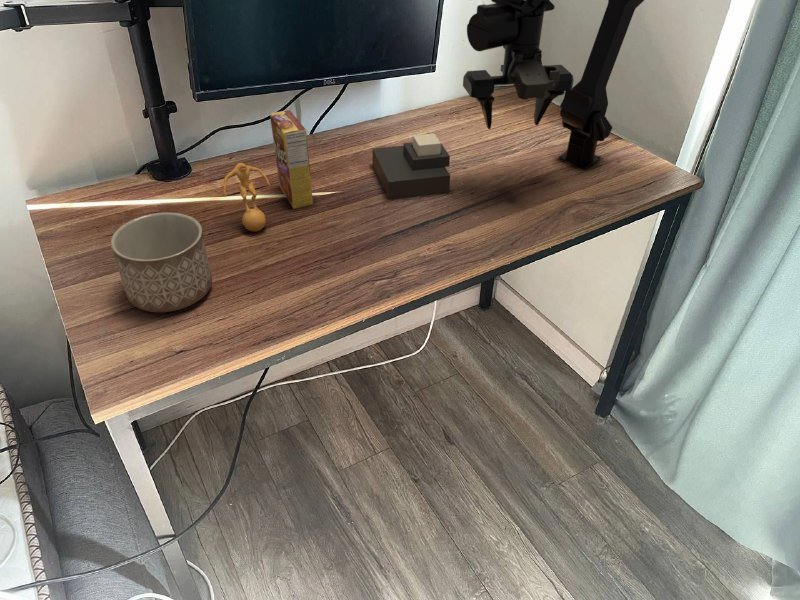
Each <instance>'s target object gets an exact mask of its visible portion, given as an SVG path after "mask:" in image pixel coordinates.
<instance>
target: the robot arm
mask: <svg viewBox="0 0 800 600" xmlns="http://www.w3.org/2000/svg"><path fill="white" fill-rule="evenodd" d="M490 1H491V2H492V3H490V4H479V5H477V6H476V13H474V14H472V15H471V17H470V19H469V20H468V23H467V24H466V37H467V40H468V43H469V45H470V46H471V48H472V49H473V50H474V51H476V52H483V51H488V50H493V49H497V48H500V47H502V48H503V49H504V55H503V64H501V65H500V72H501V73H502V75H493V76H492V75H491V74H490V73H489V72H488V71H487V69H479V70H467V71H466V73H465V74H464V75H463V77H462V87H463V88H464V89H465V91H466V93H467V94H468V95H469V97H470V98H473V99H475V100H476V101H478V102H479V105H480V107H481V112H482V115H483V118H484V122H485V126H486V128H487V129H488V130H491V128H492V123H493V103H494V101H495V97H494V96H493V94H494V92H495V89H497V88H509V87H510V88H511V87H514V89H515V90H516V94H517V97H518V98H519V99H521V100H528V99H535V104H534V113H533V123H534V125H535V126H539V125H540V123H541V120H542V119H543V117H544V115H545V113H546V111H547V109H549V108H548V107H550V104H551V103H552V102H553V100H555V99H556V98H558V97H559V96H563V99H562V101H561V103H560V104H559V108H560V110H559V116H560V117H561V122H562V123H561V124H562V128H565V129H567V130H569V131H570V134H569V138H568V144H567V149H566V152H564V153H562V154H561V155H559V157H558V160H560V161H562V162H564V163H568V164H570V165H573V166H575V167H578V168H581V169H583V170H586V169H588V168H590V167H591V166H594V164H596V163H597V162H599V161H601V159H602V157H601V156H599V155H597V154H596V151H597V147H598V144H599V143H598V142H604V141H605V139H608V138H609V137H610V134H611V132H612V130H613V125H612V124H611V123H610V121H609V120H608V118H607V117H606V113H607V111H608V106H609V101H608V99H609V98H608V92H607V85H608V82H609V80H610V77H611V75H612V72H613V69H614V67H615V64H616V61H617V58H618V56H619V54H620V52H621V51H620V50H621V48H622V46H623V43H624V41H625V37H626V35H627V32H628V29H629V27H630V24H631V22H632V18H633V16H634V13H635V11H636V9H637V8H638V7H639V6H640V5H641V4H642V3H643V2H644V1H645V0H608V1H607V5H606V8H605V11H604V14H603V17H602V18H601V21H600V22H601V23H600V25H599V27H598V31H597V34H596V35H595V39H594V41H593V45H592V48H591V51H590V53H589V56H588V59H587V62H586V64H585V68H584V71H583V73H582V76H581V78H580V80H579V81H578V82H577V83H576V84H575V85H574V80H575V79H574V75H573V74H572V73H571V72H570V71H569V70H568V69H567V68H566V67H565V66H564V65H563V64H551V65H550V64H549V65H547V64H546V65H543V61H542V59H543V58H542V57H543V54H542V51H543V50H541V49H540V45H541V38H542V31H543V25H544V16H545V13H546V12H549V11H553V10H555V4H553V2H552V1H551V0H490ZM573 85H574V86H573Z"/></svg>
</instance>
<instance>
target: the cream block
mask: <svg viewBox="0 0 800 600" xmlns="http://www.w3.org/2000/svg"><path fill="white" fill-rule="evenodd" d="M412 142H413V149H414V151H415V152H416V154H417V156H428V155H438V154H440V153H441V144H442V142H441V141H440V140H439V138H438V136H437V135H436V133H425V134H414V135H412Z"/></svg>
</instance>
